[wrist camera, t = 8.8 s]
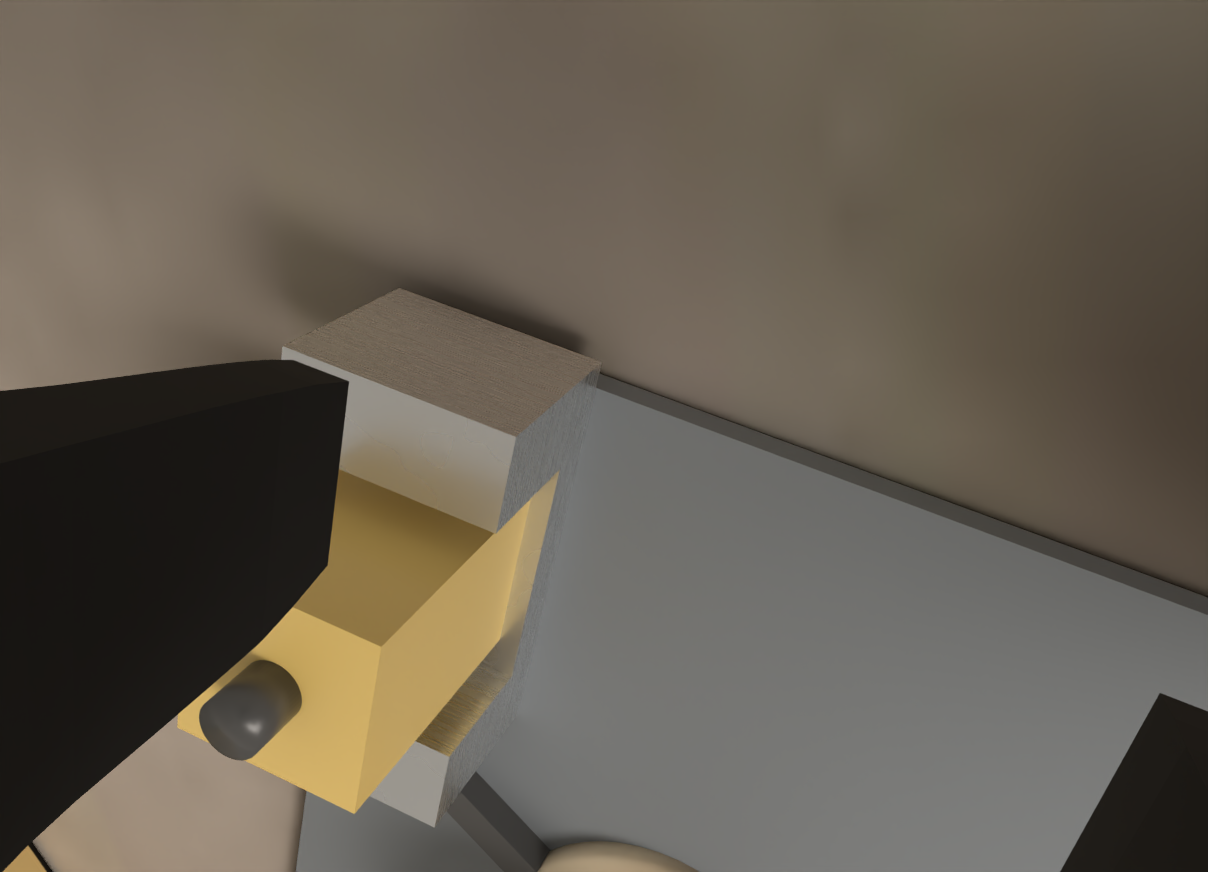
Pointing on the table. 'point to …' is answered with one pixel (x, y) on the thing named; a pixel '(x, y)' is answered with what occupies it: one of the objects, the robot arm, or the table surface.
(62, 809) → the robot arm
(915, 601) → the board
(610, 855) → the bobbin
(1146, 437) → the table surface
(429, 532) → the yellow block with knob
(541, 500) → the block
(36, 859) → the puzzle cube
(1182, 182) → the table surface
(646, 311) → the table surface
